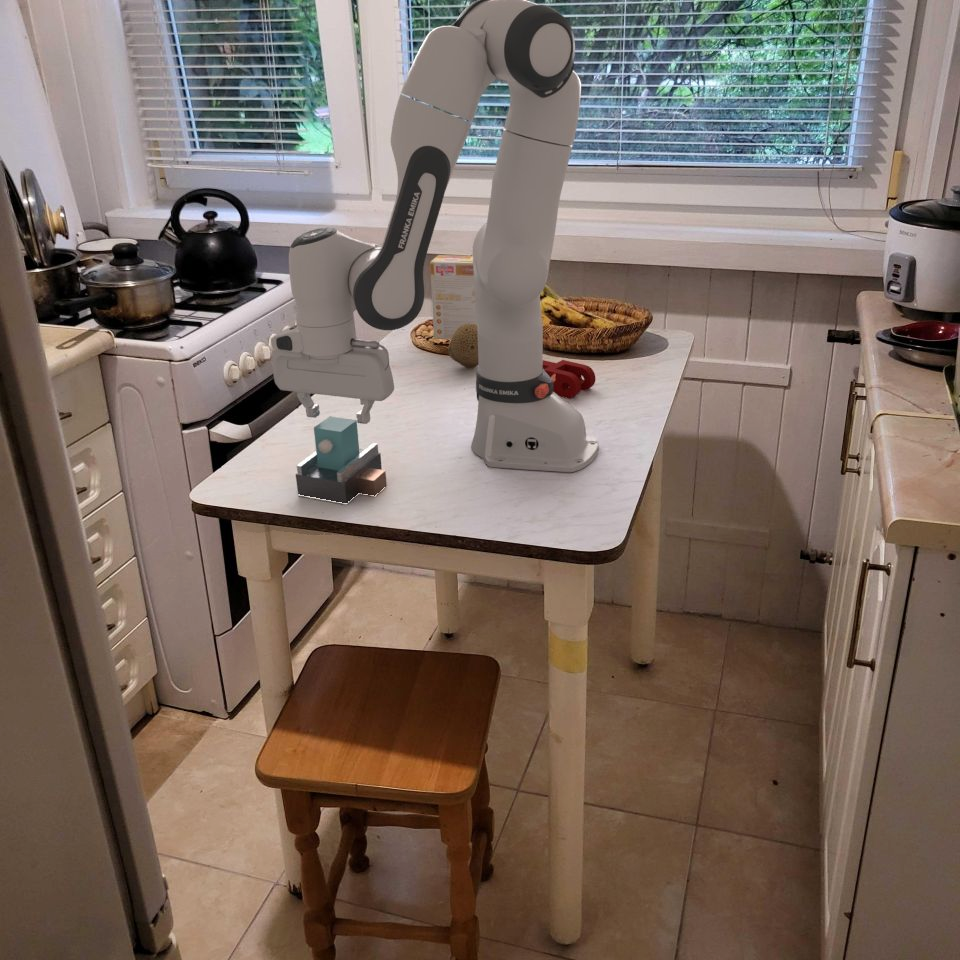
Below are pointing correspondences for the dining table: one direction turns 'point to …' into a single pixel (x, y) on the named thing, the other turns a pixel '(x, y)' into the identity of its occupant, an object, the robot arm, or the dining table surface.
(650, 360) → the dining table surface
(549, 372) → the mechanical linkage
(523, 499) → the dining table surface
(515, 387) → the robot arm
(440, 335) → the coffeecake box
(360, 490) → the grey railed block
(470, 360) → the natural sponge
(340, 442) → the block
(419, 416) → the dining table surface
